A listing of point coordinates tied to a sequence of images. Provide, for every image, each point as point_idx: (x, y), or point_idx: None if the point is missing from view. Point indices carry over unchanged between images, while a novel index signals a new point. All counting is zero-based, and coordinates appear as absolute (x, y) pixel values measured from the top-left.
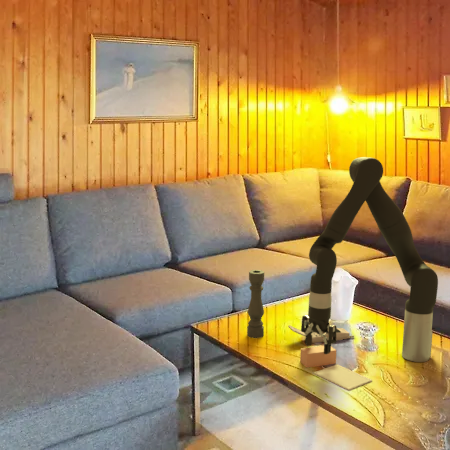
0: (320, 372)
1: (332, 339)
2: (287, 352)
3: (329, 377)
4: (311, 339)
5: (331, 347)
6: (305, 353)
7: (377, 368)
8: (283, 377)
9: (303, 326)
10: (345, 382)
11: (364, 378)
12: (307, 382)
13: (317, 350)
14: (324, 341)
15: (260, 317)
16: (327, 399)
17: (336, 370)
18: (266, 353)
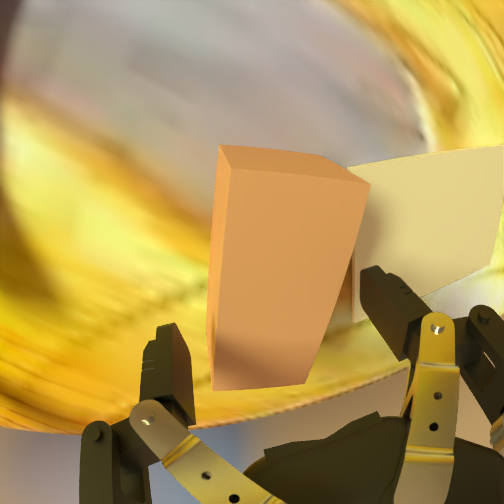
0: None
1: (478, 346)
2: (78, 333)
3: (419, 285)
4: (175, 363)
5: (299, 188)
6: (282, 381)
7: (452, 15)
8: (309, 403)
9: (145, 501)
10: (471, 249)
11: (494, 161)
12: (383, 355)
13: (293, 322)
14: (411, 376)
15: None
16: None
17: (400, 222)
18: (87, 394)
